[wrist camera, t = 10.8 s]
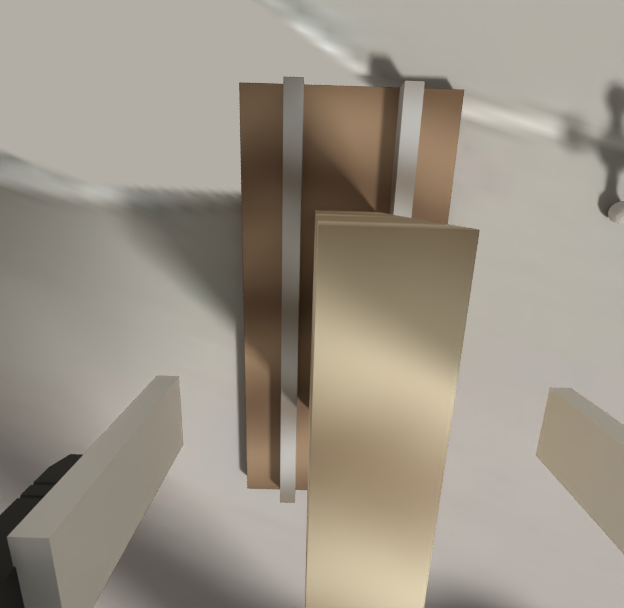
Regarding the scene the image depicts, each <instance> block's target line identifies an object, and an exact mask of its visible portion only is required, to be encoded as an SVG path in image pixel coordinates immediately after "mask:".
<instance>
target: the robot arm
mask: <svg viewBox="0 0 624 608" xmlns="http://www.w3.org/2000/svg"><path fill="white" fill-rule="evenodd" d="M182 446H183V432H182V417H181V402H180V387H179V376H156V377H155V378H154V380H153V381H152V382H151V383H150V384H149V385H148V386H147V387H146V388H145V389H144V390H143V391H142V392H141V393H140V395H139V396H138V397H137V398H136V399H135V400H134V401H133V402H132V403H131V404H130V405H129V406H128V407H127V408H126V410H125V411H124V412H123V413H122V414H121V415H120V416H119V417H118V418H117V419H116V420H115V421H114V422H113V424H112V425H111V426H110V427H109V428H108V429H107V430H106V431H105V432H104V433H103V434H102V435H101V436H100V437H99V439H98V440H97V441H96V442H95V443H94V444H93V445H92V446H91V447H90V448H89V449H88V450H87V451H86V452H85V454H84V455H76V454H70V455H68V456H67V457H65V458H63V459H62V460H60V461H58V462H57V463H55V464H53V465H52V466H50V467H49V468H48V469H47V470H46V471H45V472H44V473H43V474H42V475H41V476H40V477H39V478H38V479H37V480H36V481H35V482H34V484H33V485H30V486H29V487H28V488H27V489H26V490H25V491H24V492H23V493H22V494H21V497H20V498H19V499H18V498H17V499H16V500H15V501H14V502H13V503H12V504H11V505H10V506H9V507H8V508H7V509H6V510H5V511H4V512H3V513H2V514H1V515H0V608H93V607H94V605H95V603H96V601H97V599H98V598H99V596H100V594H101V592H102V590H103V589H104V587H105V585H106V583H107V581H108V580H109V578H110V576H111V574H112V572H113V570H114V569H115V567H116V565H117V563H118V561H119V560H120V558H121V556H122V554H123V552H124V551H125V549H126V547H127V545H128V543H129V542H130V540H131V538H132V536H133V534H134V533H135V531H136V529H137V527H138V525H139V523H140V522H141V520H142V518H143V516H144V514H145V513H146V511H147V509H148V507H149V505H150V504H151V502H152V500H153V498H154V496H155V495H156V493H157V491H158V489H159V487H160V486H161V484H162V482H163V480H164V478H165V476H166V475H167V473H168V471H169V469H170V467H171V466H172V464H173V462H174V460H175V458H176V457H177V455H178V453H179V451H180V449H181V448H182ZM536 456H537V457H538V458H539V459H540V460H541V462H542V463H543V464H544V465H545V466H546V467H547V468H548V469H549V471H550V472H551V473H552V474H553V475H554V476H555V477H556V478H557V480H558V481H559V482H560V483H561V484H562V485H563V486H564V487H565V489H566V490H567V491H568V492H569V493H570V494H571V495H572V496H573V498H574V499H575V500H576V501H577V502H578V503H579V504H580V505H581V507H582V508H583V509H584V510H585V511H586V512H587V513H588V514H589V516H590V517H591V518H592V519H593V520H594V521H595V522H596V523H597V525H598V526H599V527H600V528H601V529H602V530H603V531H604V532H605V534H606V535H607V536H608V537H609V538H610V539H611V540H612V541H613V543H614V544H615V545H616V546H617V547H618V548H619V549H620V550H621V552H622V553H623V554H624V425H623V424H621V423H620V422H618V421H617V420H616V419H614V418H613V417H611V416H610V415H609V414H607V413H606V412H604V411H603V410H601V409H600V408H599V407H597V406H596V405H594V404H593V403H592V402H590V401H589V400H587V399H586V398H585V397H583V396H582V395H580V394H579V393H577V392H576V391H575V390H573V389H572V388H550V390H549V394H548V399H547V404H546V409H545V413H544V418H543V423H542V428H541V432H540V437H539V442H538V447H537V451H536Z"/></svg>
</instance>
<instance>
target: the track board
mask: <svg viewBox="0 0 624 608" xmlns="http://www.w3.org/2000/svg"><path fill="white" fill-rule="evenodd" d="M424 85H425V81H404V83H403V84H402V85H401V87H400V88H394V87H362V86H360V87H359V86H332V85H304V78H303V77H284V84H268V83H239V90H240V138H241V139H240V141H241V191H242V241H243V291H244V341H245V391H246V441H247V488H250V489H280V502H284V503H295V490H307V489H308V442H309V399H310V367H311V335H312V302H313V270H314V238H315V210H334V211H366V212H380V213H386V214H391V215H397V216H403V217H409V218H414V219H420V220H426V221H432V222H437V223H443V224H448V216H449V208H450V200H451V192H452V184H453V176H454V168H455V160H456V152H457V144H458V136H459V128H460V120H461V112H462V104H463V96H464V90H456V89H425V88H424Z"/></svg>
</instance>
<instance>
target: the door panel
mask: <svg viewBox="0 0 624 608" xmlns="http://www.w3.org/2000/svg"><path fill="white" fill-rule="evenodd" d="M478 237H479V230H477V229H472V228H466V227H460V226H454V225H449V224H443V223H437V222H432V221H426V220H420V219H414V218H409V217H403V216H397V215H391V214H386V213H380V212H366V211H334V210H315V238H314V270H313V302H312V335H311V367H310V399H309V442H308V489H307V537H306V585H305V608H424V604H425V597H426V590H427V583H428V577H429V570H430V563H431V556H432V550H433V543H434V536H435V529H436V522H437V516H438V509H439V502H440V495H441V488H442V482H443V475H444V468H445V461H446V454H447V448H448V441H449V434H450V427H451V421H452V414H453V407H454V400H455V393H456V387H457V380H458V373H459V366H460V359H461V353H462V346H463V339H464V332H465V325H466V319H467V312H468V305H469V298H470V292H471V285H472V278H473V271H474V264H475V258H476V251H477V244H478Z"/></svg>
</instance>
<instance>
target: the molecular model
mask: <svg viewBox="0 0 624 608" xmlns="http://www.w3.org/2000/svg"><path fill="white" fill-rule="evenodd" d="M608 217H609V218H610V220H611V221H613V222H616V223H623V222H624V201H621V202H617V203H615V204H614V205H612V206H611V207H610V209H609V211H608Z"/></svg>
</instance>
